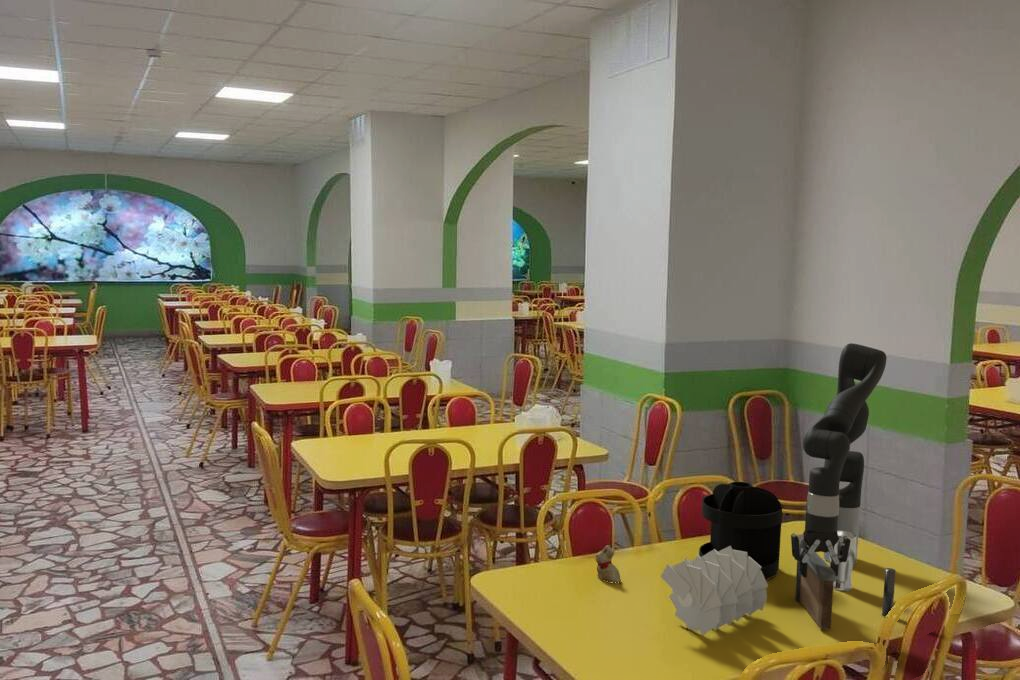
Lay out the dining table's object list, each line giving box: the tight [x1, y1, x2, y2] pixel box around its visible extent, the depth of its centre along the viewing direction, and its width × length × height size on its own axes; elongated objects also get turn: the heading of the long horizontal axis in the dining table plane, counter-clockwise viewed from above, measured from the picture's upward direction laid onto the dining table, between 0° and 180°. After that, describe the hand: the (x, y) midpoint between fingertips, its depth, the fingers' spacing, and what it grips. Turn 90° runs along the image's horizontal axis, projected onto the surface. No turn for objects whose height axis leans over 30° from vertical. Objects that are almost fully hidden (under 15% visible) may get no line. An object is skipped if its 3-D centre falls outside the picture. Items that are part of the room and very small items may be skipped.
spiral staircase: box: [660, 546, 769, 636], centre depth 208 cm, size 18×18×25 cm
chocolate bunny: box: [595, 544, 622, 584], centre depth 235 cm, size 6×8×10 cm
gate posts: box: [794, 539, 897, 618], centre depth 219 cm, size 3×24×17 cm, turn 66°
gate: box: [799, 548, 836, 630], centre depth 213 cm, size 3×17×14 cm, turn 178°
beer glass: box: [829, 530, 856, 592], centre depth 234 cm, size 7×7×15 cm
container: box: [698, 481, 783, 581], centre depth 245 cm, size 22×23×25 cm
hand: (818, 576), depth 210 cm, fingers open, 6 cm apart
